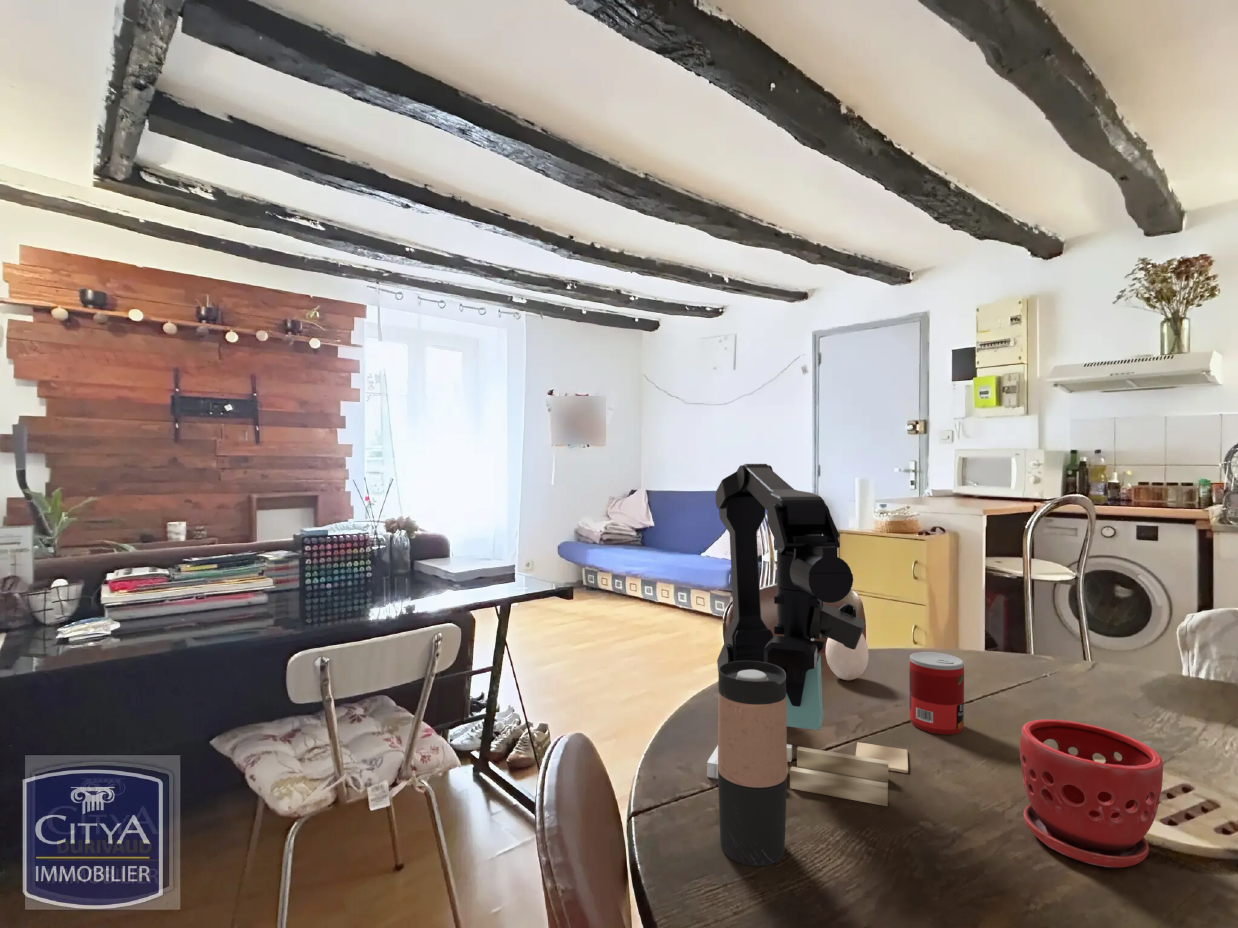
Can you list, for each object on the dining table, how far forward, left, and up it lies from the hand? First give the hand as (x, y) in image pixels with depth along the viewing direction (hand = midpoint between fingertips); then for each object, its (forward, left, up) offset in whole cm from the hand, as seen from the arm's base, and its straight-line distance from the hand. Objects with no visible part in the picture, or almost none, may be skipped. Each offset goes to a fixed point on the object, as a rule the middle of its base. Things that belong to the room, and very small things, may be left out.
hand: (798, 700), depth 91 cm
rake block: (+1, 0, -3) cm, 3 cm away
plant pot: (+32, -4, -11) cm, 34 cm away
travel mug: (-3, -19, -11) cm, 22 cm away
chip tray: (-7, 0, -10) cm, 12 cm away
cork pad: (+10, +10, -10) cm, 18 cm away
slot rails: (+5, 0, -10) cm, 12 cm away
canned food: (+18, +26, -11) cm, 34 cm away
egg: (+3, +44, -11) cm, 46 cm away
